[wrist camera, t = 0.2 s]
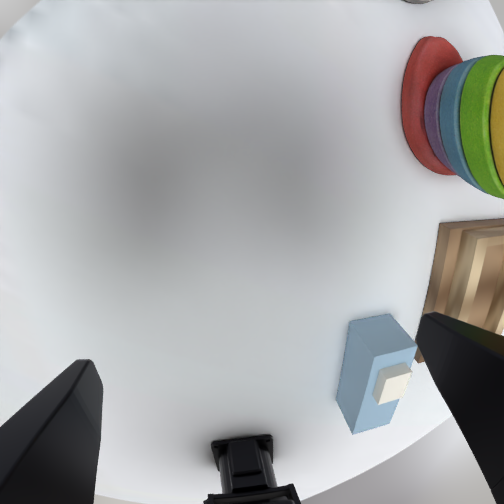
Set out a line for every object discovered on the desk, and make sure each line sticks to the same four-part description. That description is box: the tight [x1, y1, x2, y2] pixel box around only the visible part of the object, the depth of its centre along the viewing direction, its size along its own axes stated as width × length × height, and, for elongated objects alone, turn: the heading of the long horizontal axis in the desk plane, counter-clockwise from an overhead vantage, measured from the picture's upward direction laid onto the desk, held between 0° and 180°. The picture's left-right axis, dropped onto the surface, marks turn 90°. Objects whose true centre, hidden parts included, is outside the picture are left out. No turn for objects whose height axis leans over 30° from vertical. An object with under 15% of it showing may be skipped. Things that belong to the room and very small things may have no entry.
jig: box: [414, 218, 504, 363], centre depth 26 cm, size 14×12×4 cm
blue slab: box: [336, 314, 418, 435], centre depth 26 cm, size 10×4×6 cm, turn 2°
